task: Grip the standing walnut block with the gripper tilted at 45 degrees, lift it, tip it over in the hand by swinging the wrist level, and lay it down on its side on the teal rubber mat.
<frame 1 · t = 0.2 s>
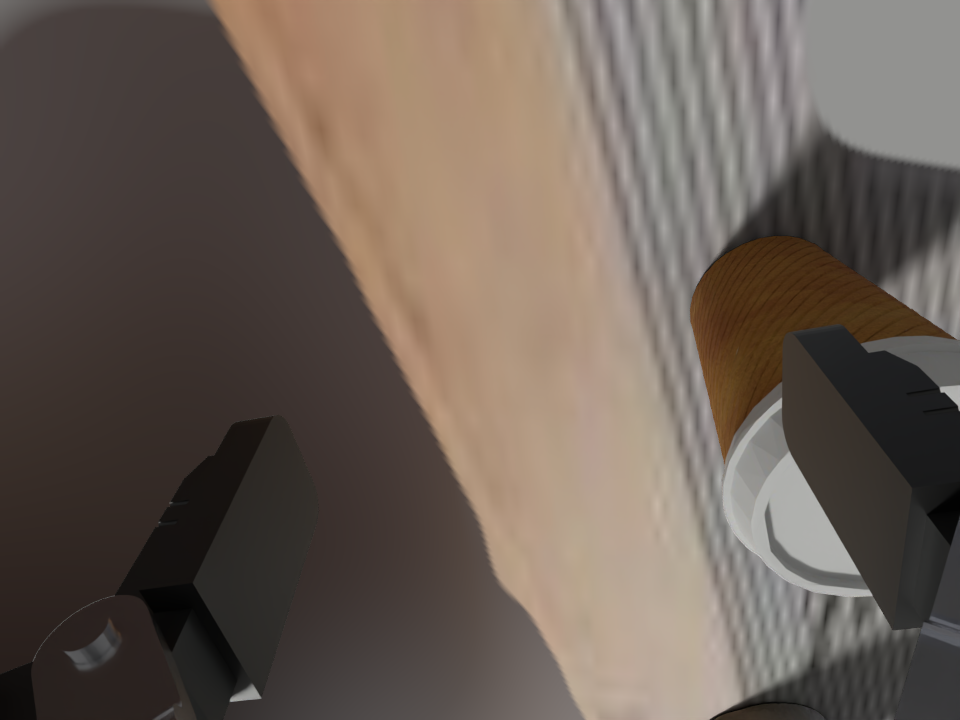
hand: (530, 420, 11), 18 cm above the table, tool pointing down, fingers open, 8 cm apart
disposable coffee cup: (761, 299, 30), on the table
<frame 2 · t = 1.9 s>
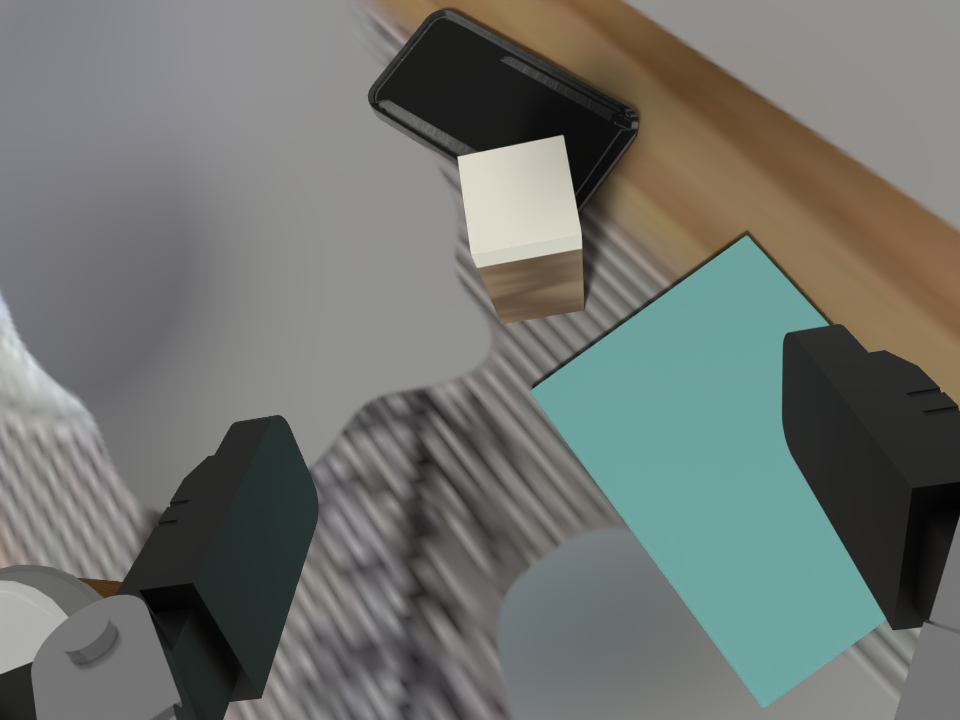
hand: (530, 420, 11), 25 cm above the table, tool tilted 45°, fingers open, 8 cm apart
teal mat: (752, 454, 34), on the table
walnut block: (536, 278, 38), on the table
disposable coffee cup: (175, 648, 37), on the table
phone: (501, 120, 41), on the table
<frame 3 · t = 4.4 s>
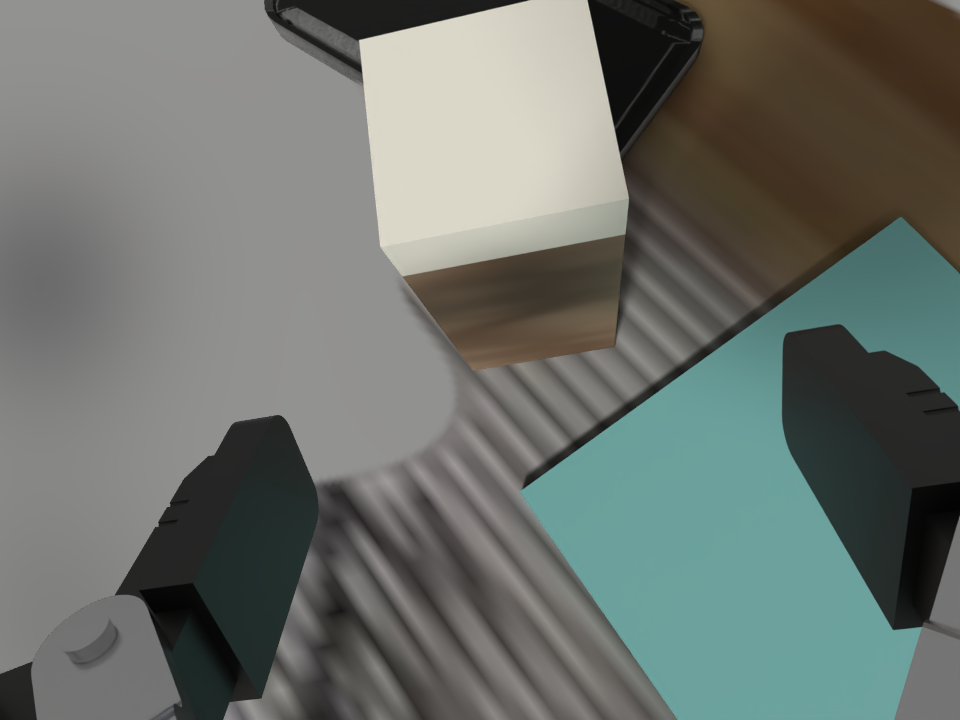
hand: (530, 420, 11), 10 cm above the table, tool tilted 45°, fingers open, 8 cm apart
teal mat: (929, 619, 19), on the table
walnut block: (532, 292, 23), on the table
phone: (476, 38, 26), on the table
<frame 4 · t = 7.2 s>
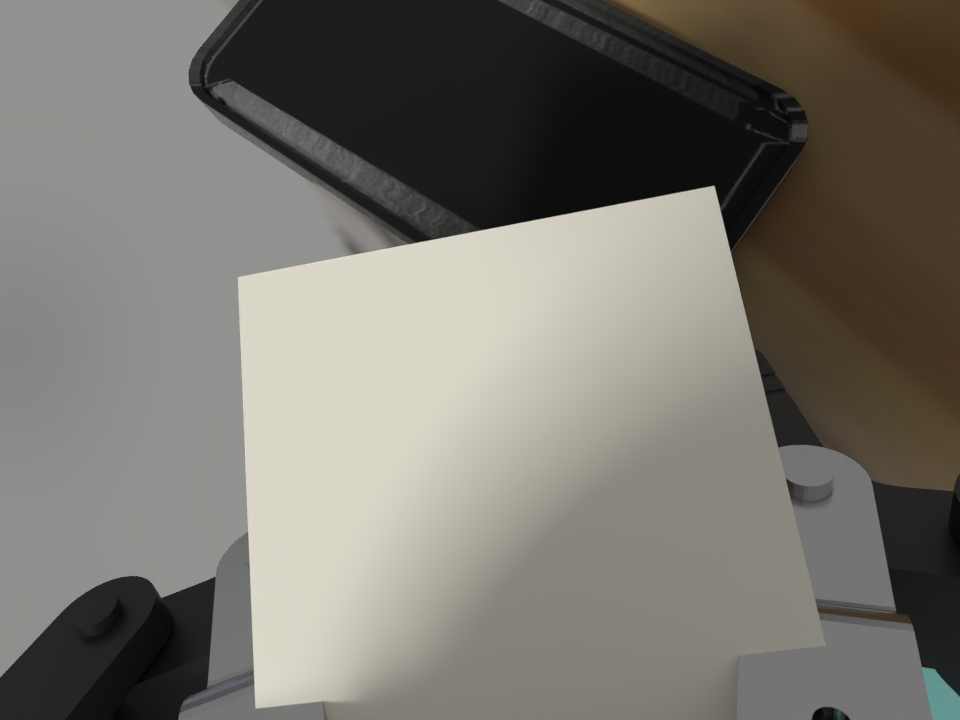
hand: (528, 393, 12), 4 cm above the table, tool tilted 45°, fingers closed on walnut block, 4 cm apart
walnut block: (559, 512, 15), on the table, touching gripper
phone: (479, 122, 19), on the table
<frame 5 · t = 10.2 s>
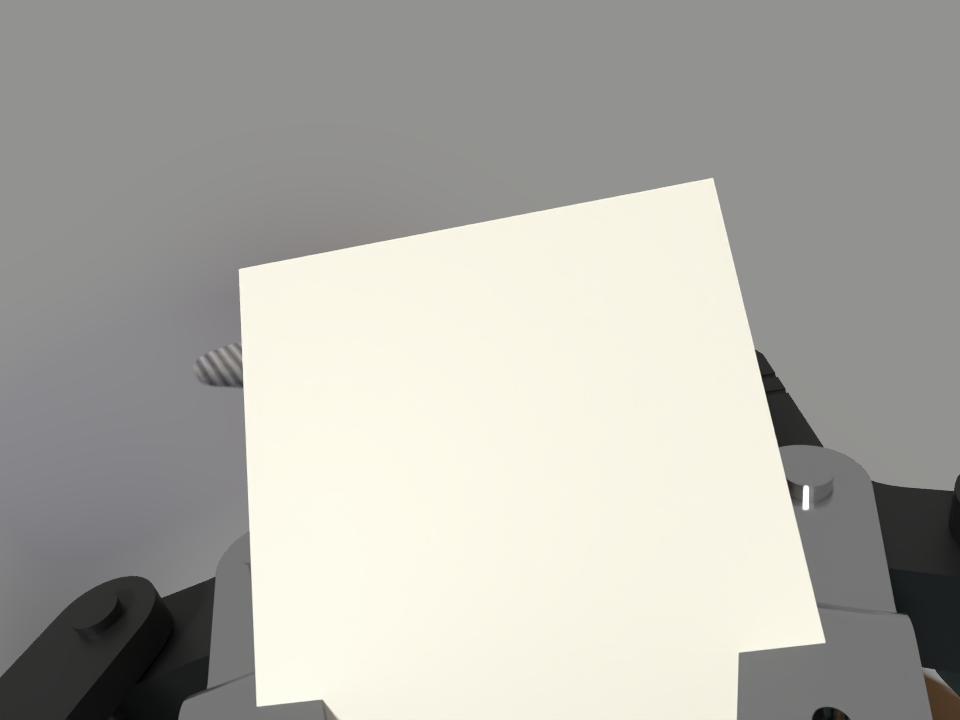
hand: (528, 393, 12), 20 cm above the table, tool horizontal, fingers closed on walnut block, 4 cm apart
walnut block: (558, 508, 15), point 16 cm above the table, tilted 44°, touching gripper
when the fingers open (10 cm above the table, at t = 13.1 s): walnut block drops 3 cm and tips over, resting on teal mat.
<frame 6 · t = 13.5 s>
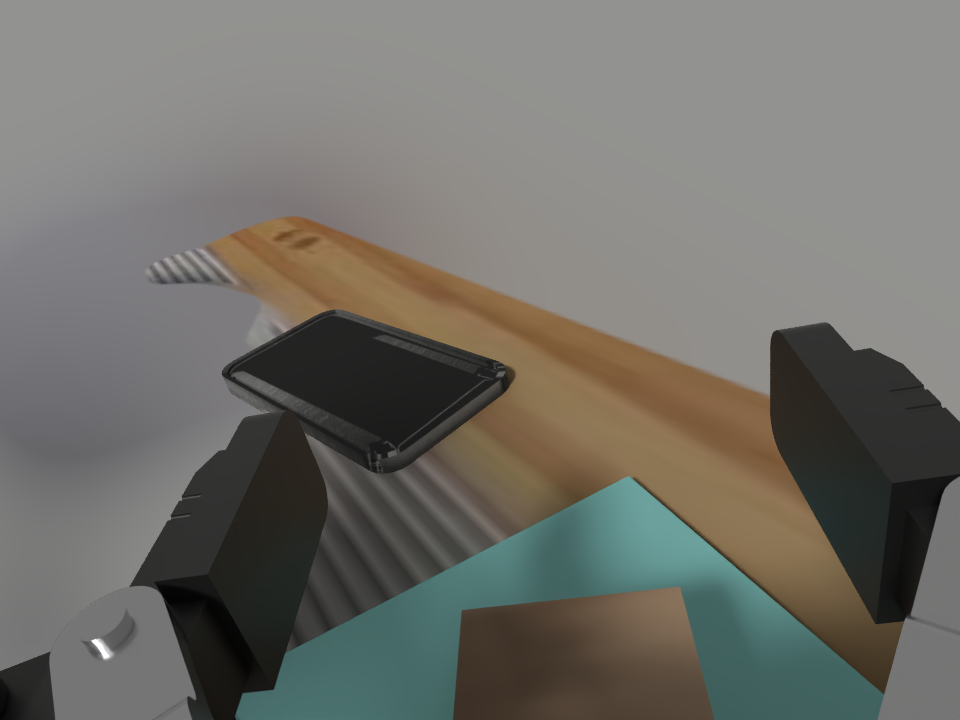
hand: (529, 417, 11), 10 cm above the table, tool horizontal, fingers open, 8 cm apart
walnut block: (582, 667, 15), point 3 cm above the table, tilted 90°, touching teal mat
phone: (360, 390, 35), on the table
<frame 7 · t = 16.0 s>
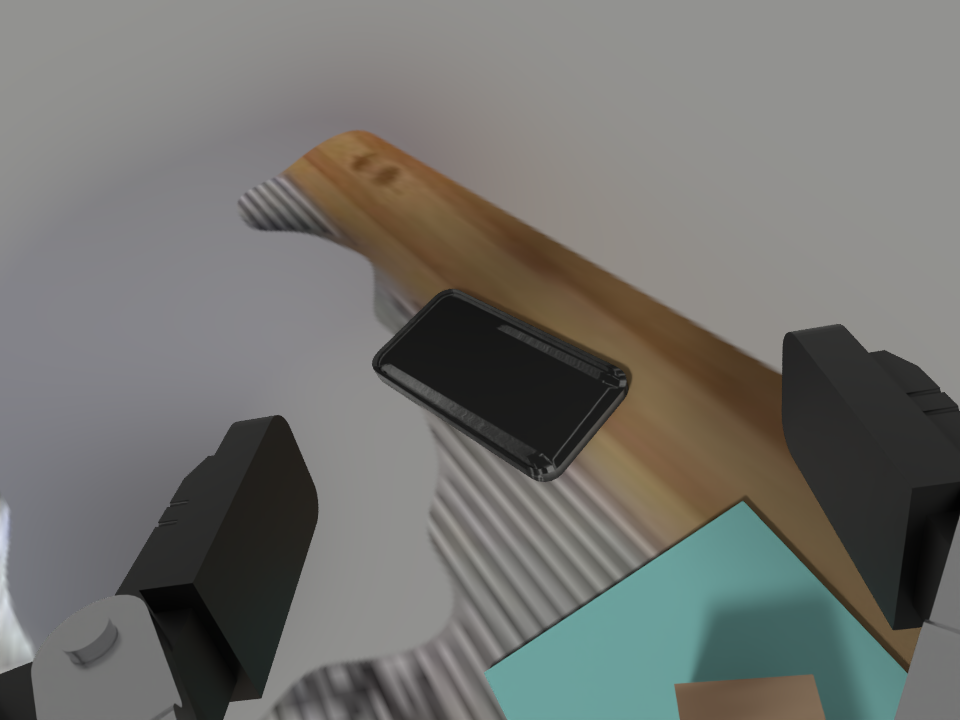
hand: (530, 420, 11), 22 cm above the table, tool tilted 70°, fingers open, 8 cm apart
walnut block: (741, 695, 25), point 3 cm above the table, tilted 90°, touching teal mat
phone: (495, 382, 42), on the table
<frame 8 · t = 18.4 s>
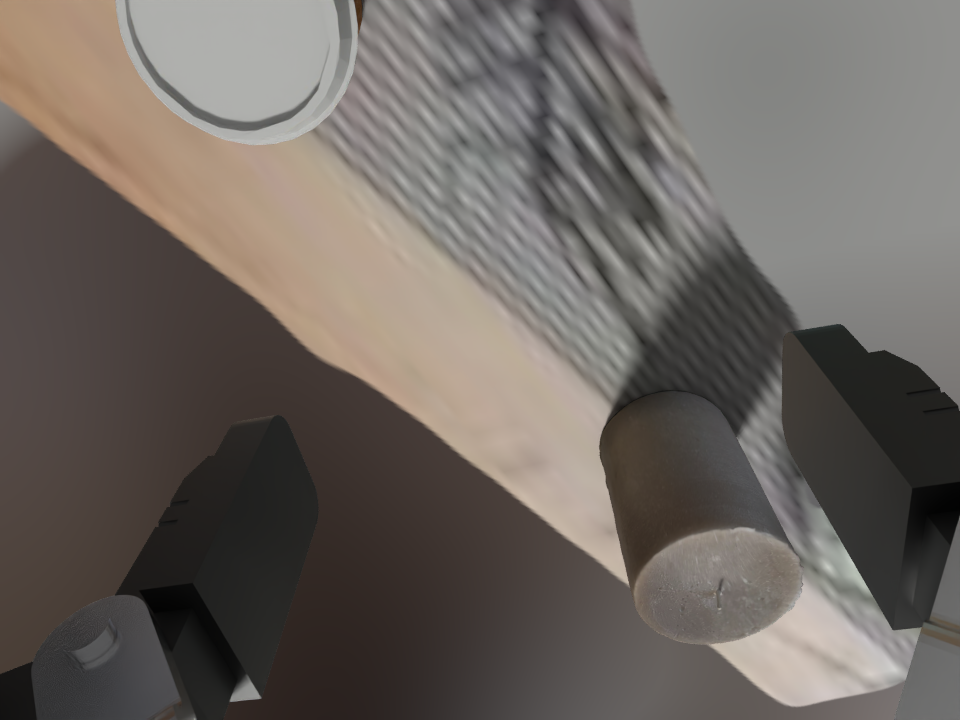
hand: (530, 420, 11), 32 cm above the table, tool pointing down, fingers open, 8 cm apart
pillar candle: (666, 441, 51), on the table
disposable coffee cup: (304, 5, 37), on the table
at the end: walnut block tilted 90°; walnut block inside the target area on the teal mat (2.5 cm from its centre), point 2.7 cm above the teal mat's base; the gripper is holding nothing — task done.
